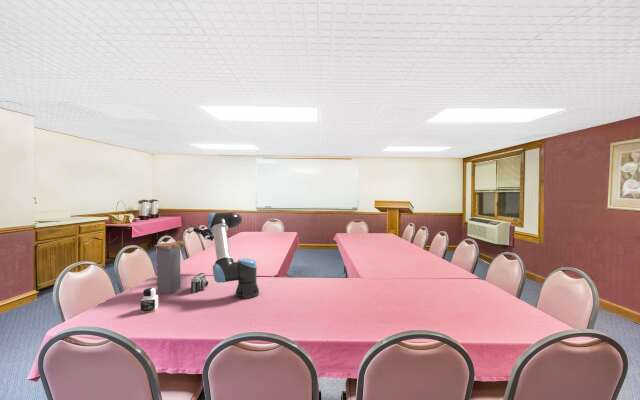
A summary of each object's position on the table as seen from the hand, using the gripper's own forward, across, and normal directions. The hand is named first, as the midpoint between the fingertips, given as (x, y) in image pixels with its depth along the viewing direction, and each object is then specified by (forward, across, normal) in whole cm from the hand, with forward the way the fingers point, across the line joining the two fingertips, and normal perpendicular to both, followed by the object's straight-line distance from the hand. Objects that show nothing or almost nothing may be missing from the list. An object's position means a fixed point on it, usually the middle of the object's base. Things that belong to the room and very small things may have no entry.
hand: (196, 233), depth 210 cm
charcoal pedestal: (+11, -6, -40) cm, 42 cm away
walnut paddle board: (+11, +7, -13) cm, 18 cm away
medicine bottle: (+42, -13, -42) cm, 61 cm away
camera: (+8, -24, -31) cm, 40 cm away
